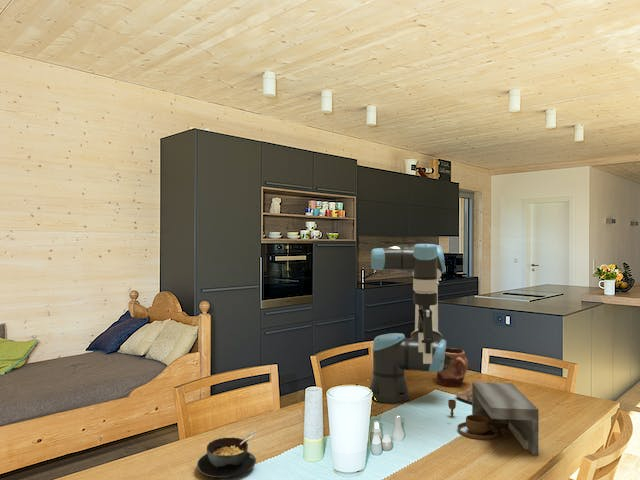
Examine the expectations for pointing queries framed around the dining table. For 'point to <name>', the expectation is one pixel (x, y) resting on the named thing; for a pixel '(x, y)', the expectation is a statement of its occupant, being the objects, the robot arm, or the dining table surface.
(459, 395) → the shell
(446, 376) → the decorative planter
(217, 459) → the soup bowl
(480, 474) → the dining table surface
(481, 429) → the place setting
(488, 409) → the shelf
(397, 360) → the robot arm
